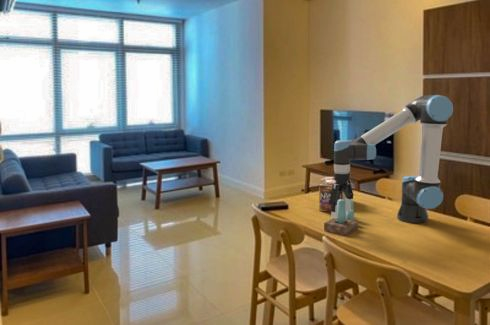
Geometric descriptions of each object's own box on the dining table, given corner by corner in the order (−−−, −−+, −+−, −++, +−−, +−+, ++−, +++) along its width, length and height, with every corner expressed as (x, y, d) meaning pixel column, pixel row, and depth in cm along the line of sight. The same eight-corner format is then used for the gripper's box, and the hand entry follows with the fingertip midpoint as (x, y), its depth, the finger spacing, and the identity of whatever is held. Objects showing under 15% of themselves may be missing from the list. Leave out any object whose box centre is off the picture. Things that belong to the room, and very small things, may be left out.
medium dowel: (354, 218, 223) (354, 200, 221) (351, 220, 220) (351, 202, 218) (347, 217, 225) (348, 199, 224) (344, 219, 222) (344, 201, 221)
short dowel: (355, 223, 215) (355, 210, 214) (351, 225, 212) (351, 212, 211) (348, 222, 218) (348, 209, 216) (344, 224, 215) (344, 210, 213)
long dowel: (346, 229, 206) (347, 200, 204) (342, 231, 203) (343, 202, 201) (339, 227, 209) (339, 198, 206) (335, 230, 206) (335, 200, 203)
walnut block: (357, 229, 206) (358, 221, 206) (346, 235, 198) (346, 227, 197) (336, 224, 214) (336, 216, 214) (324, 230, 206) (324, 222, 205)
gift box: (318, 200, 262) (318, 173, 259) (347, 199, 261) (348, 172, 258) (322, 207, 245) (322, 179, 242) (353, 207, 244) (354, 178, 241)
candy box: (318, 211, 238) (318, 185, 236) (321, 209, 242) (321, 183, 239) (333, 212, 234) (334, 186, 231) (336, 210, 238) (336, 184, 235)
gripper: (347, 167, 213) (346, 207, 216) (321, 175, 194) (321, 219, 198) (361, 169, 208) (360, 210, 211) (335, 177, 189) (335, 222, 193)
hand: (341, 214), depth 205 cm, fingers open, 13 cm apart
